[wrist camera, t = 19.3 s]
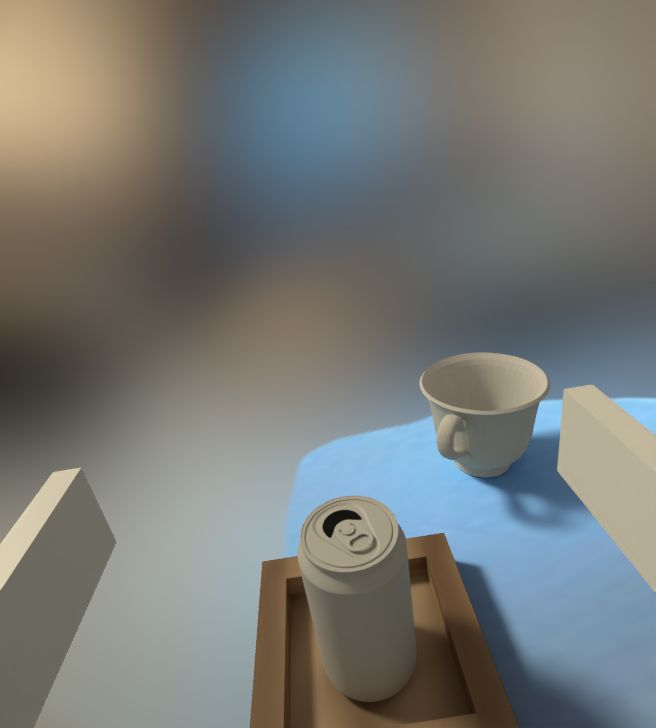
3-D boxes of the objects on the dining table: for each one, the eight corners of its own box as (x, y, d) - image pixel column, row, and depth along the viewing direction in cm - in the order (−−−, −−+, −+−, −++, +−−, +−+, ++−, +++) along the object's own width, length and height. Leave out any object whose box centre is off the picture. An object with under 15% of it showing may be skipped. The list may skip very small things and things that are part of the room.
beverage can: (378, 598, 36) (361, 475, 30) (438, 667, 30) (429, 534, 25) (307, 648, 33) (274, 523, 28) (359, 733, 28) (331, 599, 23)
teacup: (390, 492, 47) (381, 409, 43) (452, 418, 57) (450, 345, 53) (511, 539, 40) (515, 444, 36) (558, 445, 50) (565, 362, 46)
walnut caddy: (445, 558, 39) (443, 532, 38) (525, 778, 26) (527, 749, 24) (269, 586, 39) (262, 561, 38) (256, 820, 26) (244, 794, 24)
